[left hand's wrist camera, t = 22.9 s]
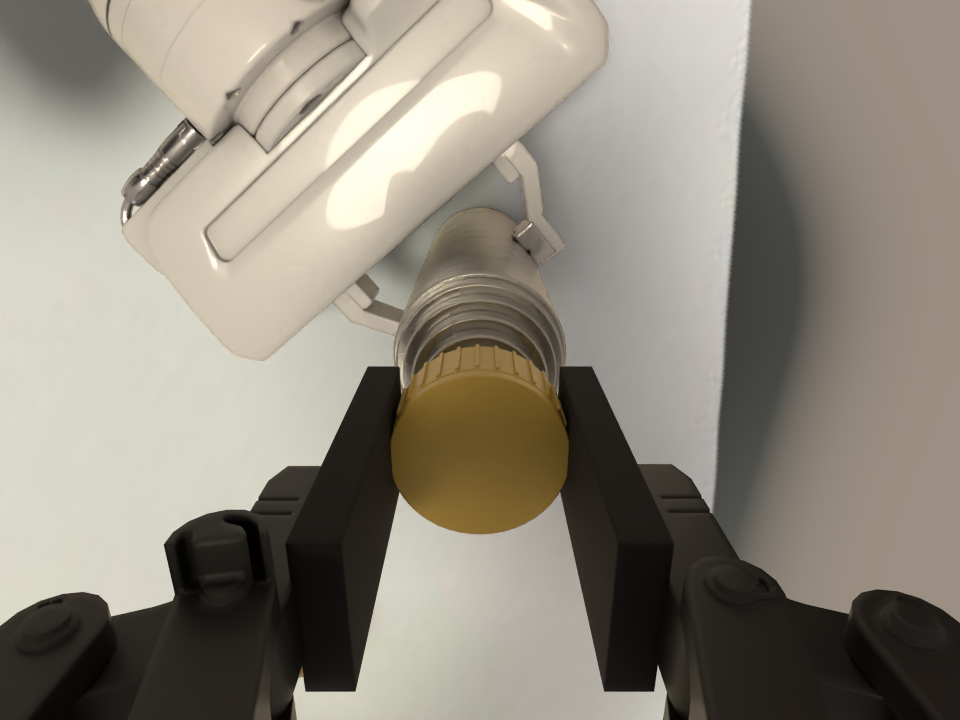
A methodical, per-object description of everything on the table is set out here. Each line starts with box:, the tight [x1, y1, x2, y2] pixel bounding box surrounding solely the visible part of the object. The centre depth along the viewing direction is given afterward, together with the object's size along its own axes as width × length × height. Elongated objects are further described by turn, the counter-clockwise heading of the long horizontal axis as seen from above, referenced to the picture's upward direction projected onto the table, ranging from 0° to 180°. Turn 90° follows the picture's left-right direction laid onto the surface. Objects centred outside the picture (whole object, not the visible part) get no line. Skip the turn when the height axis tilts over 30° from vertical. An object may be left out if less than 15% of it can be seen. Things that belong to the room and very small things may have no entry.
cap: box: [391, 344, 569, 534], centre depth 14 cm, size 4×4×2 cm
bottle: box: [394, 208, 566, 392], centre depth 23 cm, size 5×5×21 cm
